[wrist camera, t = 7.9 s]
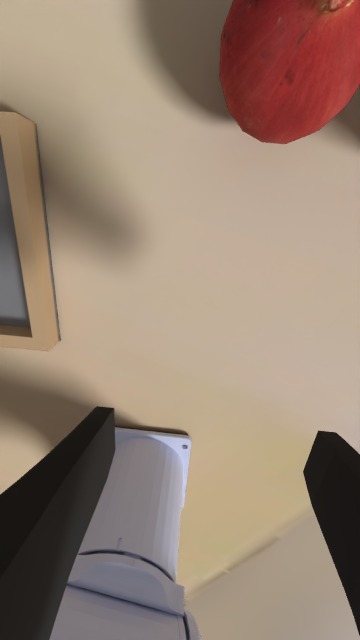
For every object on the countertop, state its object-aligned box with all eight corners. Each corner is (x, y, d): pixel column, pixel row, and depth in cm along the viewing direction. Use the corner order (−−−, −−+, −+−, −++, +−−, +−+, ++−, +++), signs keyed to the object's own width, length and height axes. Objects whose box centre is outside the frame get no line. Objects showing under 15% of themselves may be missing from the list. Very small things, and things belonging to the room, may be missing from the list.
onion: (192, 89, 14) (184, -56, 6) (286, -16, 12) (421, -373, 5) (256, 181, 15) (309, 148, 8) (348, 98, 14) (527, -42, 6)
